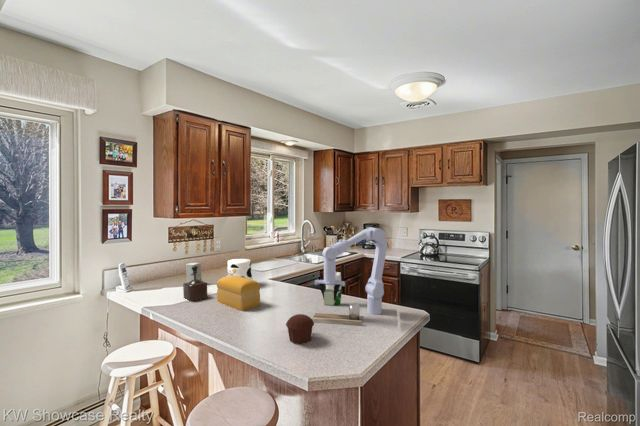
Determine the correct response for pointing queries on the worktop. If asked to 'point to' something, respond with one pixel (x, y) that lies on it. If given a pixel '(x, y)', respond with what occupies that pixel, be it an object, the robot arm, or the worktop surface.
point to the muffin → (300, 328)
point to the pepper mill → (195, 288)
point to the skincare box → (190, 271)
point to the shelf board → (336, 319)
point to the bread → (238, 292)
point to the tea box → (329, 297)
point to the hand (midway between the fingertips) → (329, 299)
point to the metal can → (354, 311)
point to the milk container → (240, 268)
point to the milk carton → (338, 298)
